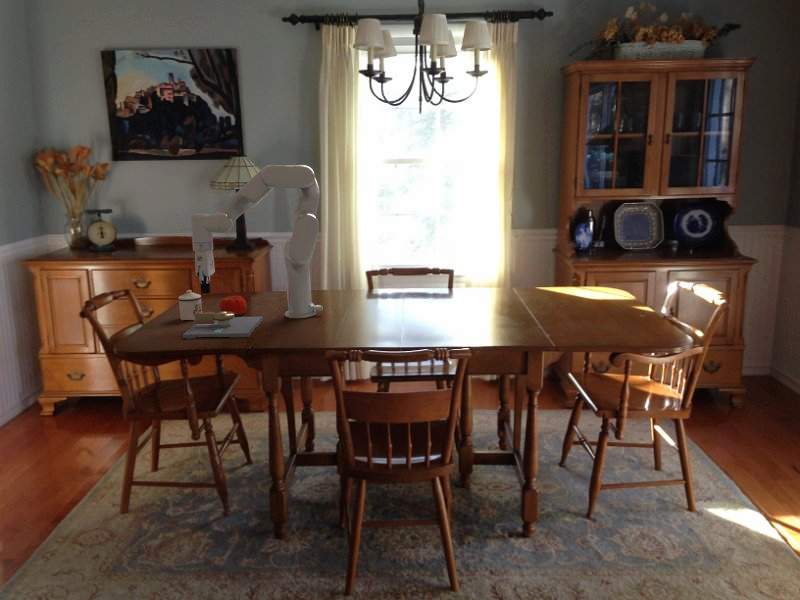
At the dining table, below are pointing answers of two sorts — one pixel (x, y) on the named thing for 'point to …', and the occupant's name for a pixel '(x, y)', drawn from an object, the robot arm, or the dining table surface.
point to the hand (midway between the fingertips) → (206, 293)
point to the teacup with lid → (189, 305)
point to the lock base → (225, 328)
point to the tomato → (233, 305)
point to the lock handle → (212, 317)
